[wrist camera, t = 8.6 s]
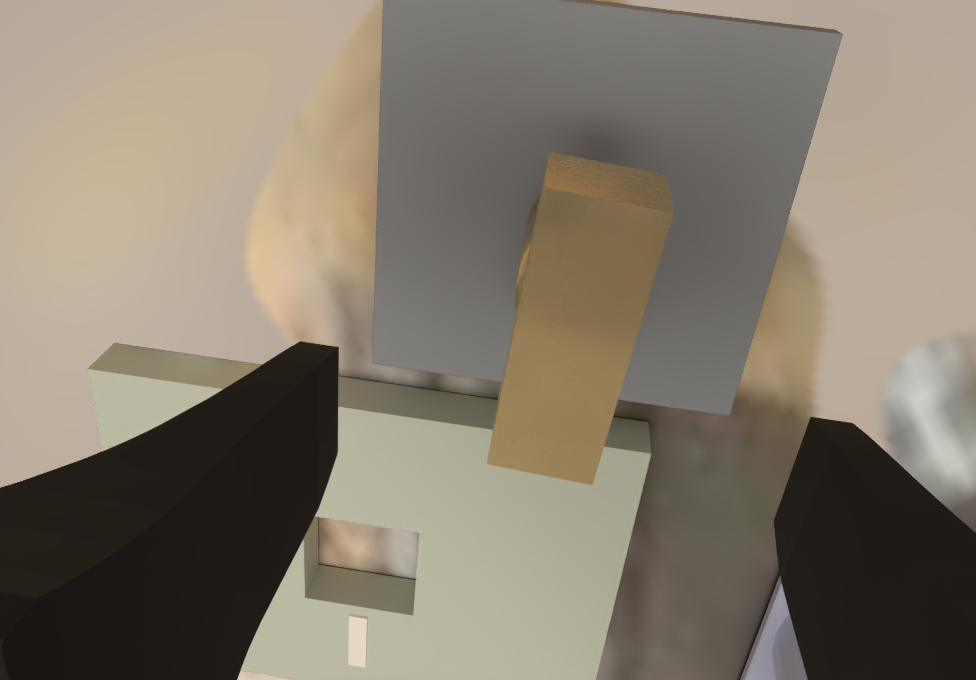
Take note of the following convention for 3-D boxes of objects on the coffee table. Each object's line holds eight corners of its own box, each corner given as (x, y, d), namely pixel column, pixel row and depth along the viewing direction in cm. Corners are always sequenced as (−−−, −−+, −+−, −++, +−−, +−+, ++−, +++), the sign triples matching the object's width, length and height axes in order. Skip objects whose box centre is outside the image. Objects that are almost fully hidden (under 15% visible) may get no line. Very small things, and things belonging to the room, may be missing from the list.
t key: (595, 340, 22) (597, 486, 17) (507, 323, 22) (481, 462, 17) (654, 119, 19) (679, 214, 14) (552, 99, 19) (538, 186, 14)
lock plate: (648, 422, 24) (651, 456, 22) (584, 691, 30) (583, 731, 28) (114, 343, 25) (85, 370, 23) (156, 620, 31) (135, 655, 29)
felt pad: (835, 29, 18) (843, 34, 18) (726, 403, 23) (729, 416, 23) (389, -24, 19) (383, -21, 18) (377, 352, 24) (372, 363, 23)
